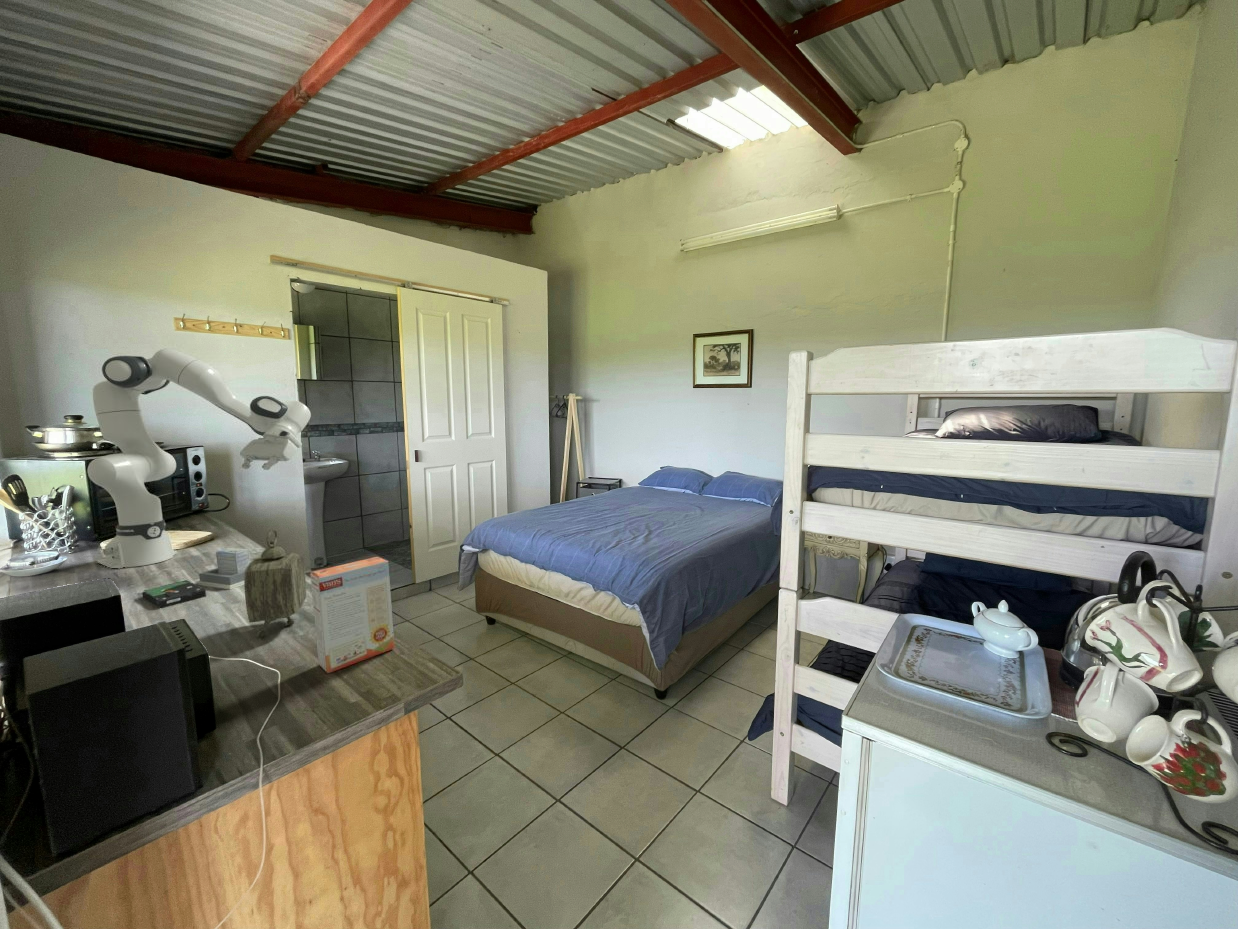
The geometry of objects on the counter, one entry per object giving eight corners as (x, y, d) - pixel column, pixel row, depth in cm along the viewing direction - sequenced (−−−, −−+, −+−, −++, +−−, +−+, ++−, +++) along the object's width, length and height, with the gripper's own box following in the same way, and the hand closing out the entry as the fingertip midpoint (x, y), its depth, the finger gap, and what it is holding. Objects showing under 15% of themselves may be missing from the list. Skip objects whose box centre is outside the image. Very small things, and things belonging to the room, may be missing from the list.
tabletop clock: (269, 617, 126) (260, 524, 123) (309, 612, 130) (302, 521, 127) (249, 642, 113) (239, 538, 110) (294, 636, 116) (286, 534, 113)
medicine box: (251, 575, 155) (249, 548, 154) (238, 579, 151) (235, 553, 150) (231, 573, 157) (229, 547, 156) (218, 578, 153) (215, 551, 152)
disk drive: (207, 598, 141) (187, 588, 148) (206, 589, 140) (186, 579, 148) (160, 611, 132) (141, 599, 140) (159, 601, 132) (140, 590, 139)
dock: (196, 584, 150) (195, 573, 149) (242, 570, 163) (241, 560, 163) (230, 589, 146) (229, 578, 145) (274, 574, 159) (273, 563, 159)
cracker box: (384, 641, 114) (378, 555, 111) (395, 649, 110) (390, 560, 107) (316, 664, 103) (309, 570, 101) (326, 675, 99) (318, 577, 97)
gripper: (250, 432, 177) (224, 461, 169) (293, 433, 172) (269, 463, 164) (263, 443, 182) (239, 472, 174) (306, 444, 177) (283, 474, 168)
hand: (254, 468), depth 169 cm, fingers open, 8 cm apart
